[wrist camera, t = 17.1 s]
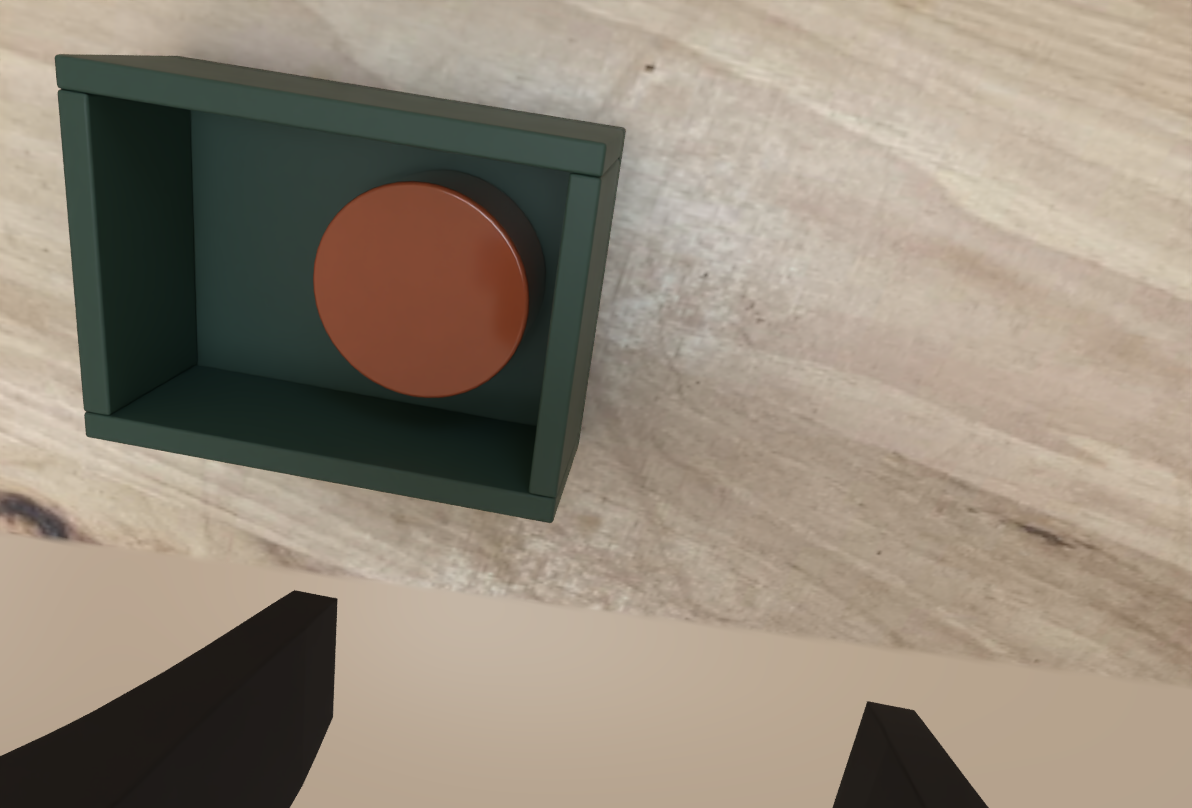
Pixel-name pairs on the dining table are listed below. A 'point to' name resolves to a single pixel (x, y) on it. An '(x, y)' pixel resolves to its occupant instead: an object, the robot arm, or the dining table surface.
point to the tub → (285, 275)
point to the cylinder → (429, 282)
